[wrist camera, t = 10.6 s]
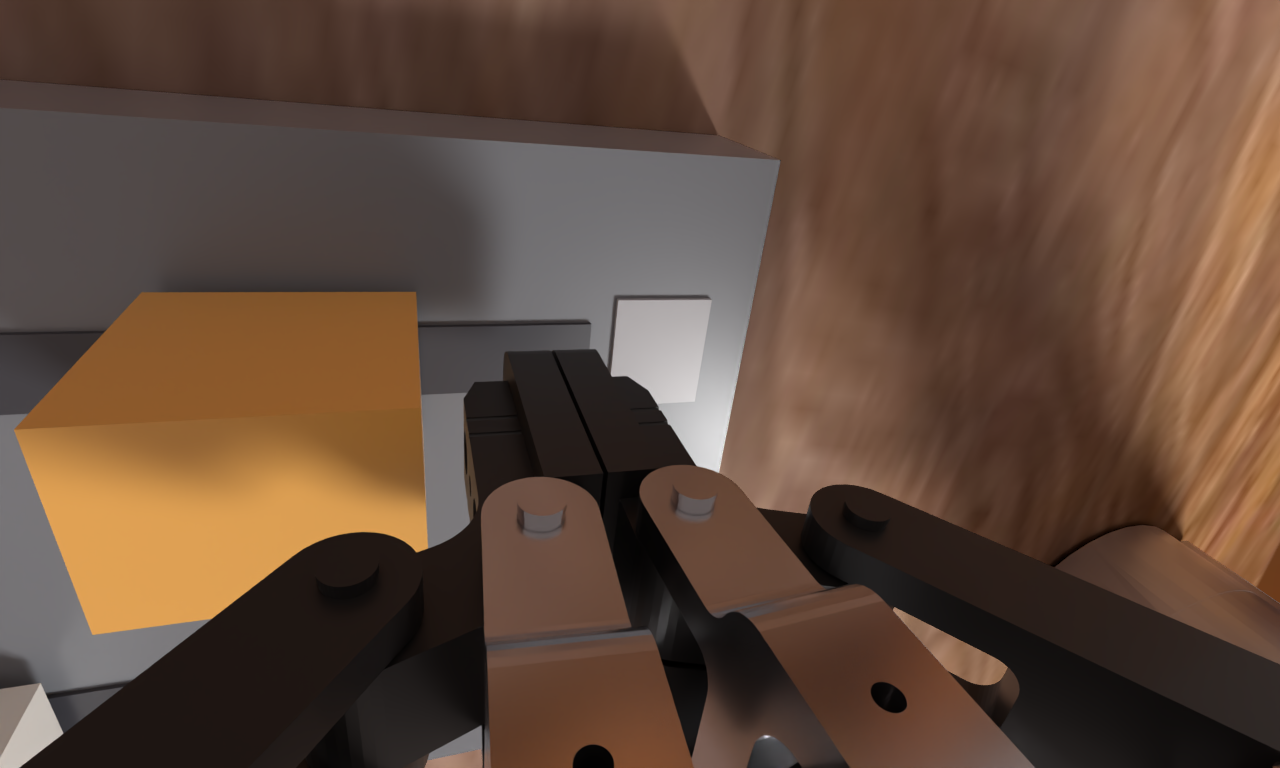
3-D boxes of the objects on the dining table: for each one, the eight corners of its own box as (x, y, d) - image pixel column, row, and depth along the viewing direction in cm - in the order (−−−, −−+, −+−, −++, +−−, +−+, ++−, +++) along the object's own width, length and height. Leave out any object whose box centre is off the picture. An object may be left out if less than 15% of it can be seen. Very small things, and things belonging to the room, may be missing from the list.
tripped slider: (416, 291, 11) (420, 407, 8) (423, 438, 13) (430, 589, 9) (141, 292, 10) (13, 429, 7) (182, 455, 12) (92, 634, 8)
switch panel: (718, 135, 15) (782, 161, 13) (642, 631, 23) (673, 711, 20) (-873, 12, 8) (-1439, 13, 6) (-238, 780, 16) (-364, 932, 13)
